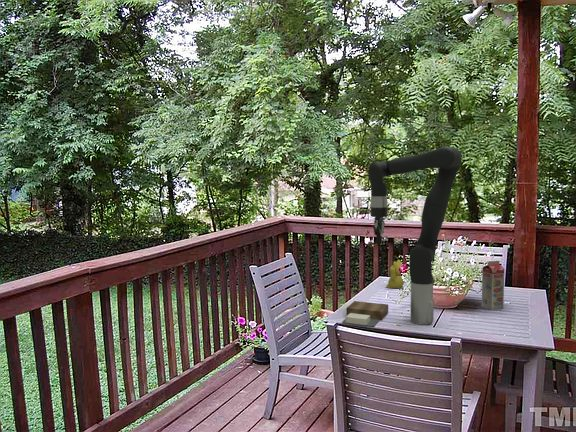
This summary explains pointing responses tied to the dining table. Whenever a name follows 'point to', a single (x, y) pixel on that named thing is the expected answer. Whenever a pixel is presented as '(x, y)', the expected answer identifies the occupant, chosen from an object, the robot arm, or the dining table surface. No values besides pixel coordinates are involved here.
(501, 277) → the juice carton
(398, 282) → the figurine
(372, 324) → the mat
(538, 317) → the dining table surface
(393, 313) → the dining table surface
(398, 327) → the dining table surface
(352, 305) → the brown flat block
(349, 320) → the tile
